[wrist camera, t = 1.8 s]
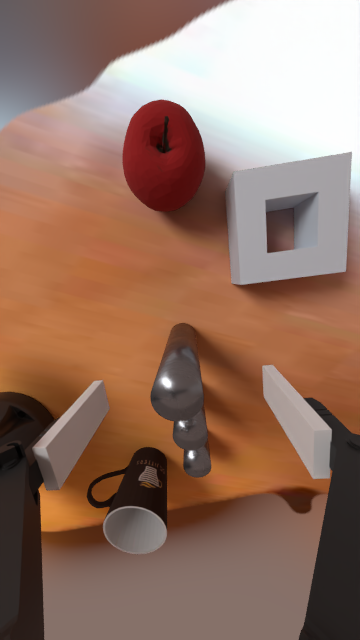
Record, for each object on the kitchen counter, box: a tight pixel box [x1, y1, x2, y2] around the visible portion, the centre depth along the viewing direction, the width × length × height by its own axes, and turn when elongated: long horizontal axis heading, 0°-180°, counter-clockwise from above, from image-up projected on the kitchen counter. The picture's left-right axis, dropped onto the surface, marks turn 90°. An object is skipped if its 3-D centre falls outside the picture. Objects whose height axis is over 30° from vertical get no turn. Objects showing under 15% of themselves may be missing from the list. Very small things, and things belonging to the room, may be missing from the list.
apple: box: [123, 100, 205, 212], centre depth 21 cm, size 9×9×10 cm
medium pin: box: [173, 402, 208, 450], centre depth 27 cm, size 4×4×10 cm
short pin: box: [183, 439, 211, 477], centre depth 31 cm, size 4×4×6 cm
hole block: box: [225, 152, 352, 285], centre depth 24 cm, size 12×12×5 cm
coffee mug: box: [87, 447, 167, 554], centre depth 31 cm, size 12×9×10 cm
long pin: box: [151, 323, 204, 421], centre depth 22 cm, size 4×4×16 cm
